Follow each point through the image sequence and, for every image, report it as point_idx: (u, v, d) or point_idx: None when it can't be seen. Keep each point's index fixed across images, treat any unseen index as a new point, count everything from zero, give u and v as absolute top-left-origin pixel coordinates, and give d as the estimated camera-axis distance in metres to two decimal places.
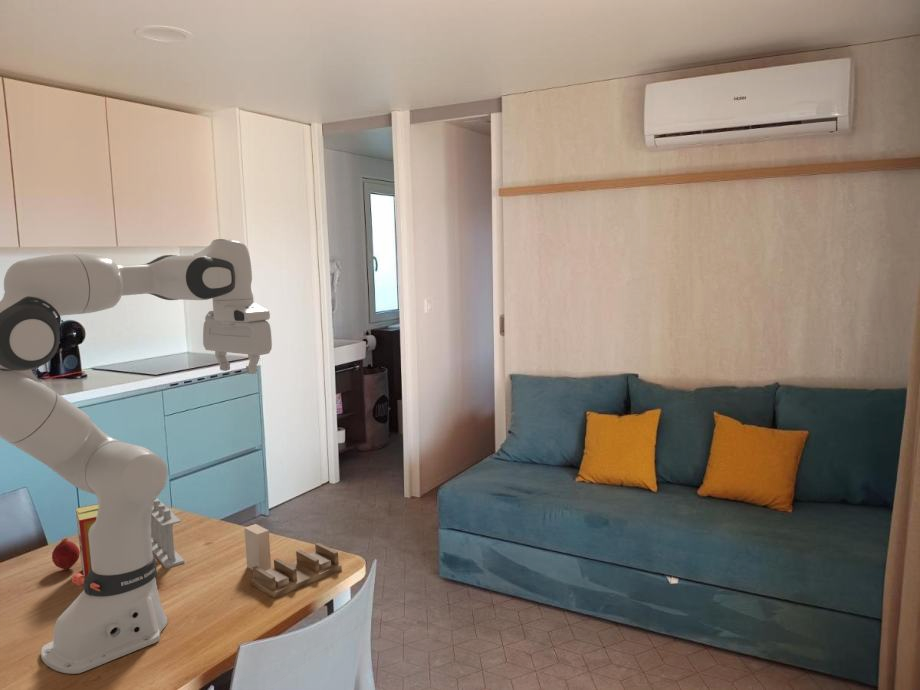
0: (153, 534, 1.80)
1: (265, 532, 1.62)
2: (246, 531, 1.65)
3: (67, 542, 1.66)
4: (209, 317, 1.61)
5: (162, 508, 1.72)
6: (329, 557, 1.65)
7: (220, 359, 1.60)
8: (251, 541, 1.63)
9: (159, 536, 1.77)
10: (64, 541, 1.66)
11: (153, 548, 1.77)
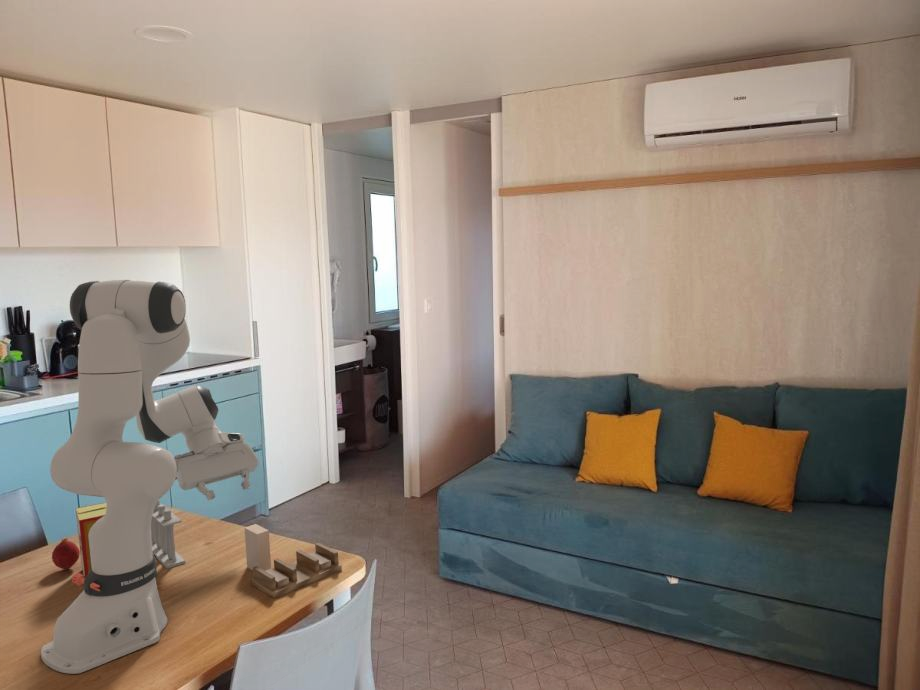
0: (152, 535, 1.80)
1: (265, 532, 1.62)
2: (246, 531, 1.64)
3: (67, 542, 1.66)
4: (178, 460, 1.70)
5: (162, 508, 1.72)
6: (329, 557, 1.65)
7: None
8: (251, 541, 1.63)
9: (158, 537, 1.76)
10: (64, 541, 1.66)
11: (152, 549, 1.76)
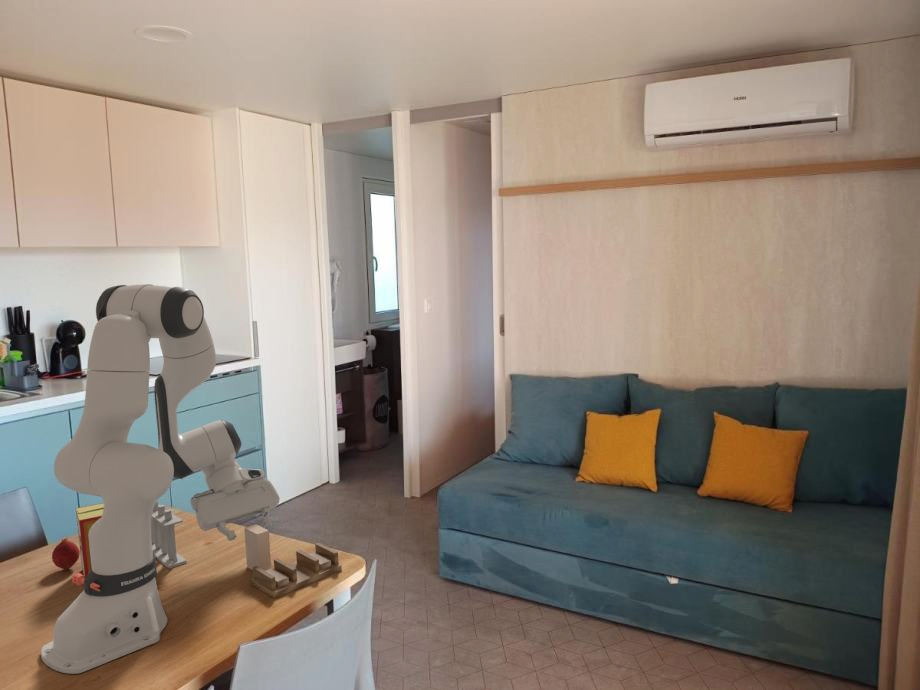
0: None
1: (265, 532, 1.62)
2: (246, 531, 1.64)
3: (67, 542, 1.66)
4: (197, 499, 1.65)
5: (162, 509, 1.72)
6: (329, 557, 1.65)
7: None
8: (251, 541, 1.63)
9: (157, 537, 1.76)
10: (64, 541, 1.66)
11: None
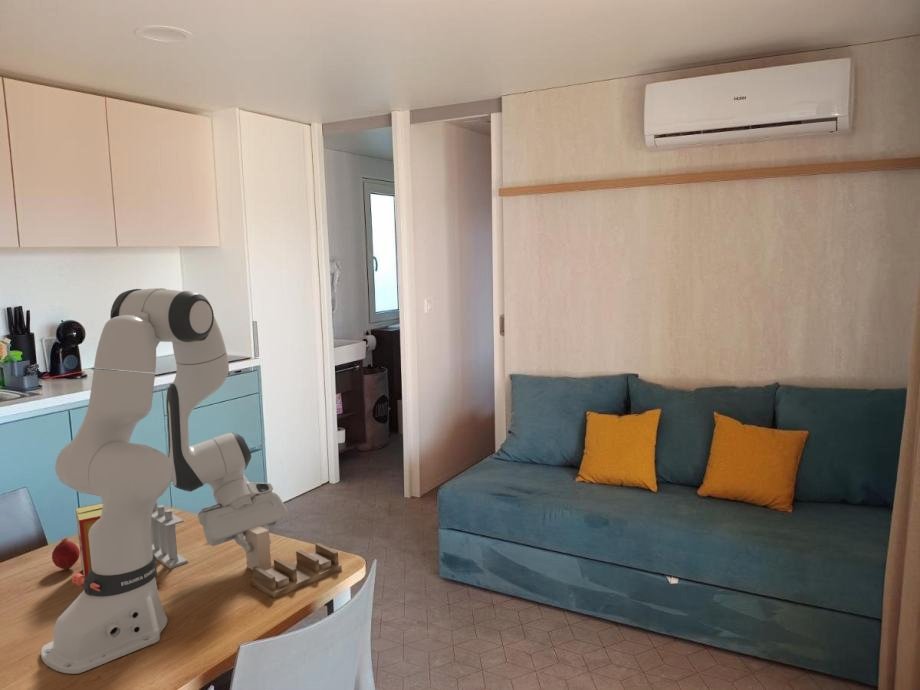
0: None
1: (265, 532, 1.62)
2: (246, 531, 1.65)
3: (67, 542, 1.66)
4: (205, 513, 1.63)
5: (162, 509, 1.71)
6: (329, 557, 1.65)
7: None
8: (251, 541, 1.63)
9: (156, 538, 1.76)
10: (64, 541, 1.66)
11: None
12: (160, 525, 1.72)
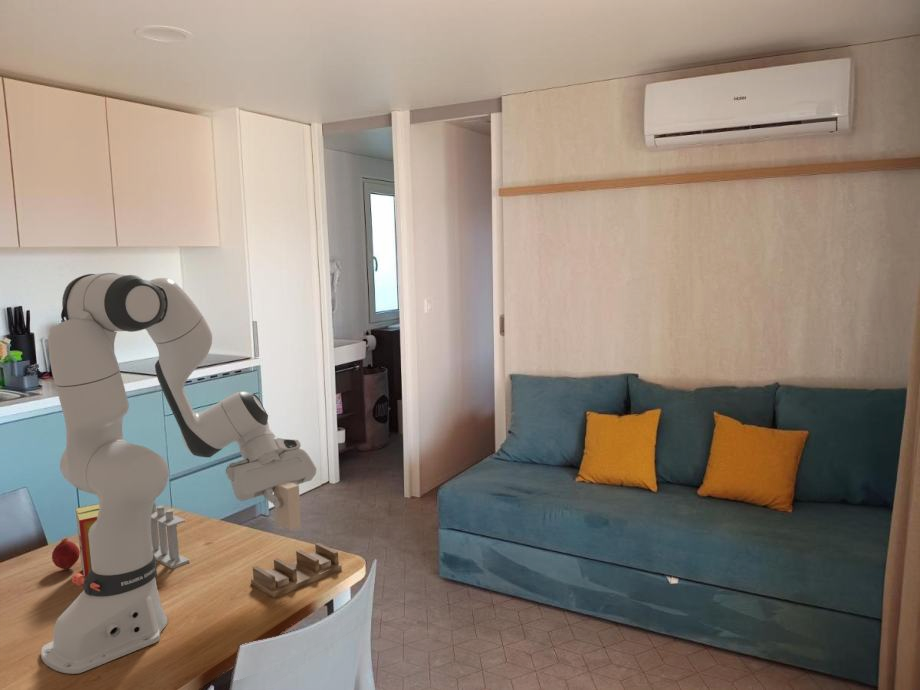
0: None
1: (295, 487, 1.57)
2: (275, 487, 1.59)
3: (67, 542, 1.66)
4: (233, 468, 1.57)
5: (162, 509, 1.71)
6: (329, 557, 1.65)
7: None
8: (281, 496, 1.58)
9: (155, 539, 1.75)
10: (64, 541, 1.66)
11: None
12: (160, 526, 1.71)
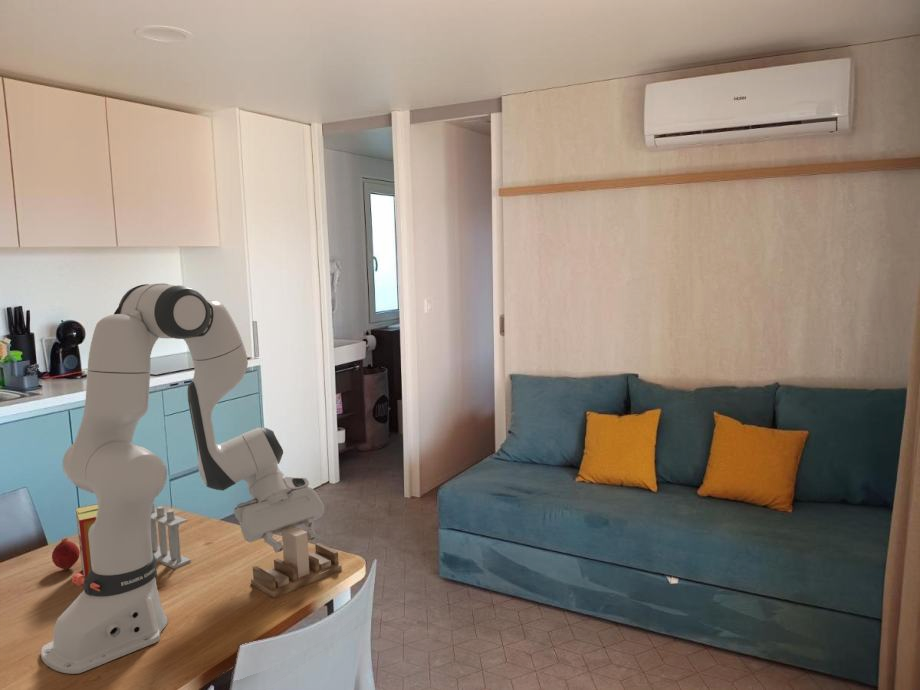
0: None
1: (304, 534, 1.58)
2: (284, 533, 1.60)
3: (67, 542, 1.66)
4: (241, 508, 1.58)
5: (162, 510, 1.71)
6: (329, 557, 1.65)
7: None
8: (289, 543, 1.58)
9: (154, 540, 1.74)
10: (64, 541, 1.66)
11: None
12: (160, 526, 1.71)
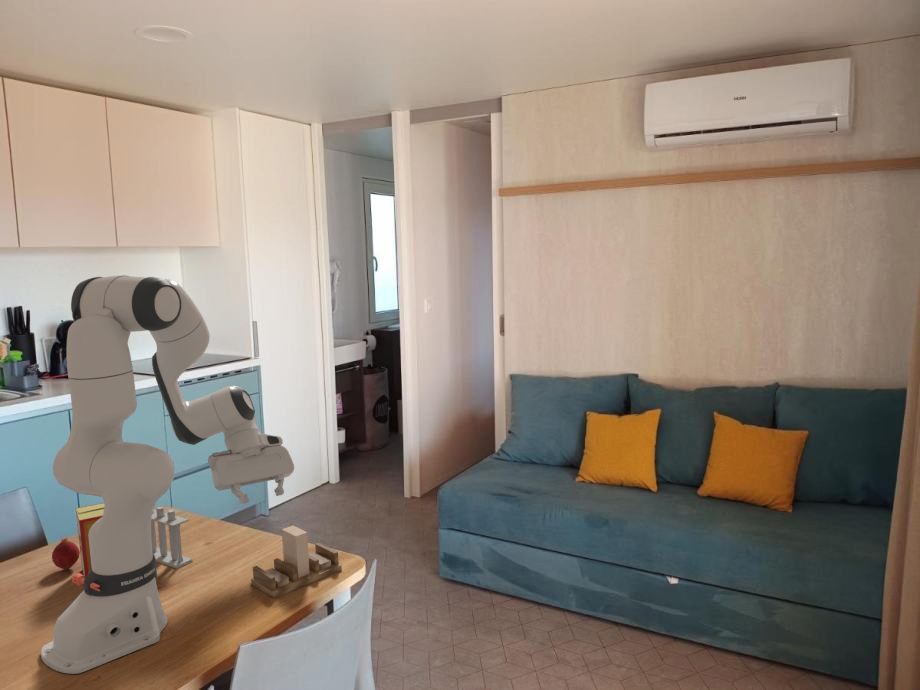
0: None
1: (304, 534, 1.58)
2: (284, 533, 1.60)
3: (67, 542, 1.66)
4: (215, 458, 1.66)
5: (162, 510, 1.71)
6: (329, 557, 1.65)
7: None
8: (289, 543, 1.58)
9: (153, 540, 1.74)
10: (64, 541, 1.66)
11: None
12: (160, 527, 1.71)
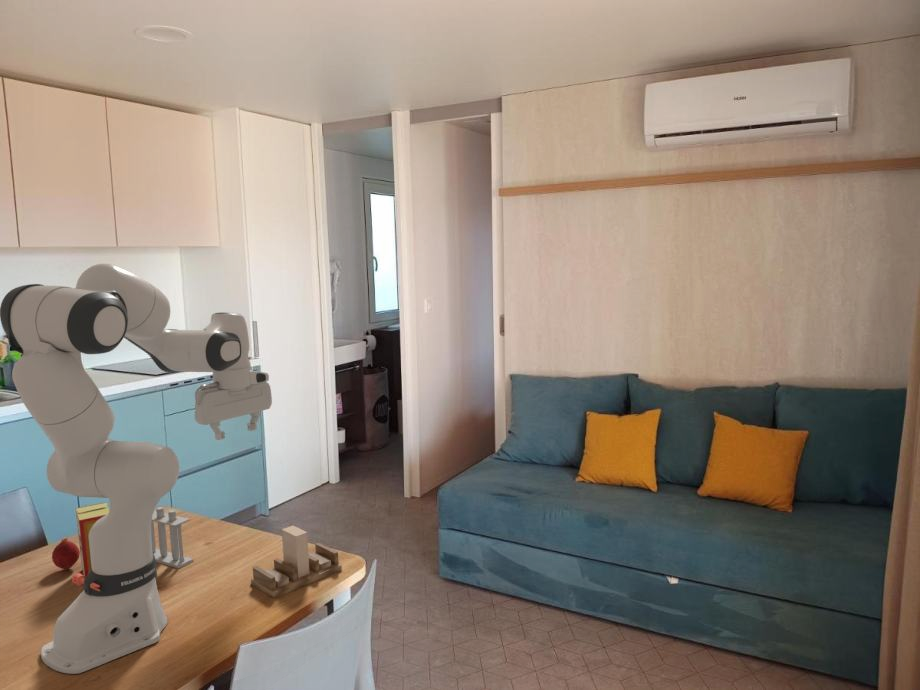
0: None
1: (304, 534, 1.58)
2: (284, 533, 1.60)
3: (67, 542, 1.66)
4: (203, 391, 1.60)
5: (162, 511, 1.70)
6: (329, 557, 1.65)
7: None
8: (289, 543, 1.58)
9: (152, 541, 1.73)
10: (64, 541, 1.66)
11: None
12: (160, 527, 1.70)
